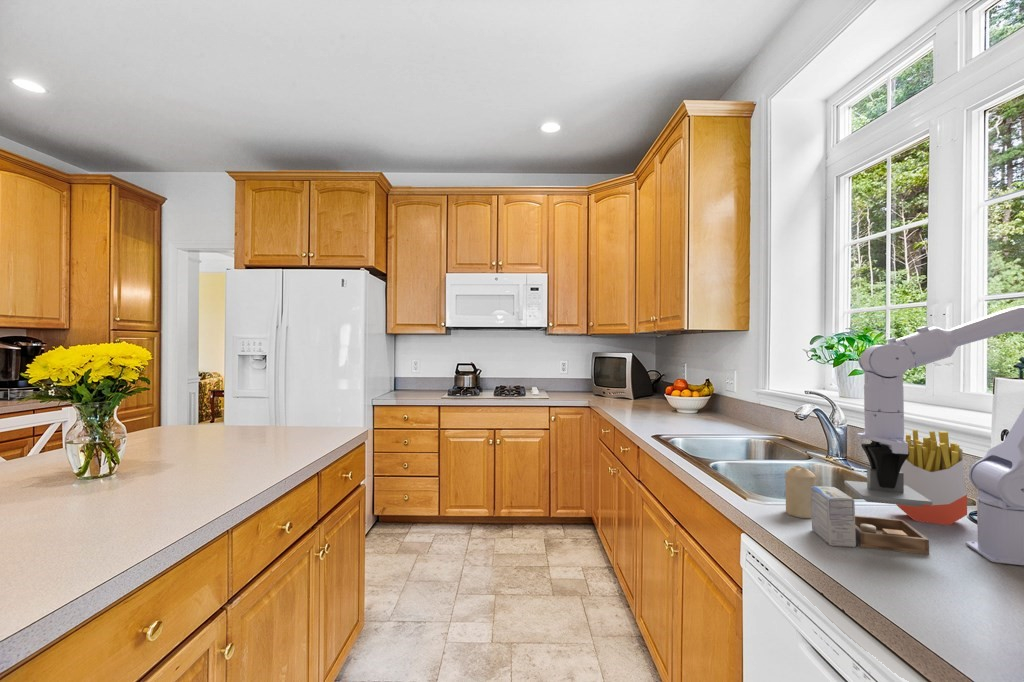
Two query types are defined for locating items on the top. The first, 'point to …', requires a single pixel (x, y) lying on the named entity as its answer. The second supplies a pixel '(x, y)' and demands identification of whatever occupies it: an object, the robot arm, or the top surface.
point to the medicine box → (833, 516)
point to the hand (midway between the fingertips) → (884, 485)
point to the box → (889, 535)
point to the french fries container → (935, 479)
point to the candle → (799, 491)
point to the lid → (887, 491)
